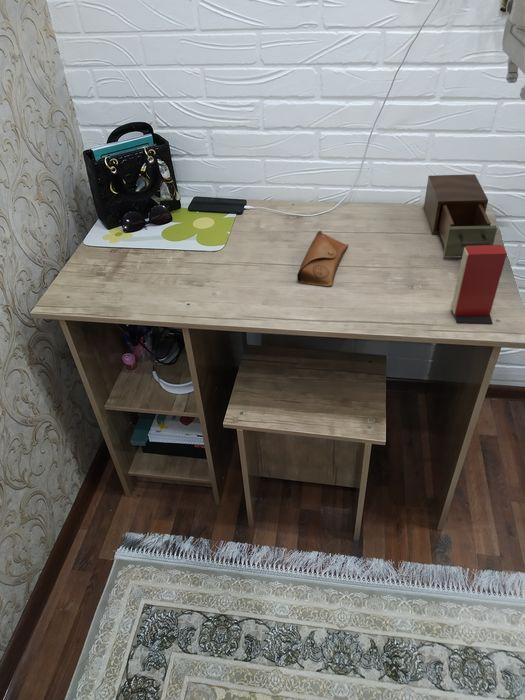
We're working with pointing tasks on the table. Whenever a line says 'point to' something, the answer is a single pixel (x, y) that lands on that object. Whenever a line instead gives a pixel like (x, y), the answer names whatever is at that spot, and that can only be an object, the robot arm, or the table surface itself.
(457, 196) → the cabinet
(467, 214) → the drawer
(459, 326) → the table surface
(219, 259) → the table surface
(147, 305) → the table surface
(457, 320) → the coaster
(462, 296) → the book
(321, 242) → the sunglasses case
